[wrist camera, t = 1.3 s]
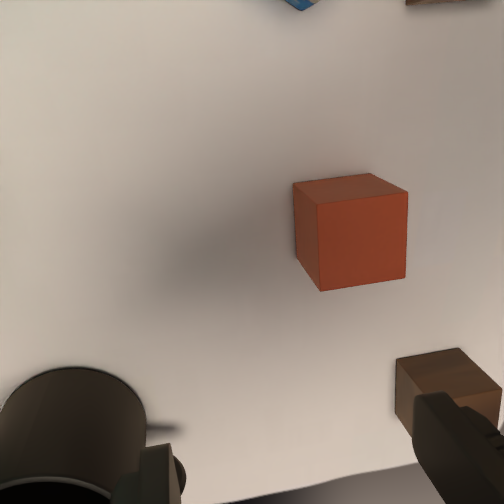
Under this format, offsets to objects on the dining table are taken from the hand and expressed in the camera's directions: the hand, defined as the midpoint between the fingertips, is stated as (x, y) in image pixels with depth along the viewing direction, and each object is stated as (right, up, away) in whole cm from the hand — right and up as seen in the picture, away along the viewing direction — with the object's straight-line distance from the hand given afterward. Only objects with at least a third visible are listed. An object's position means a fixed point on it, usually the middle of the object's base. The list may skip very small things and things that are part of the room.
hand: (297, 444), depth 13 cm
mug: (-12, -7, +20) cm, 24 cm away
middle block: (+4, +7, +17) cm, 19 cm away
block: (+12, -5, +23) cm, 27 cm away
